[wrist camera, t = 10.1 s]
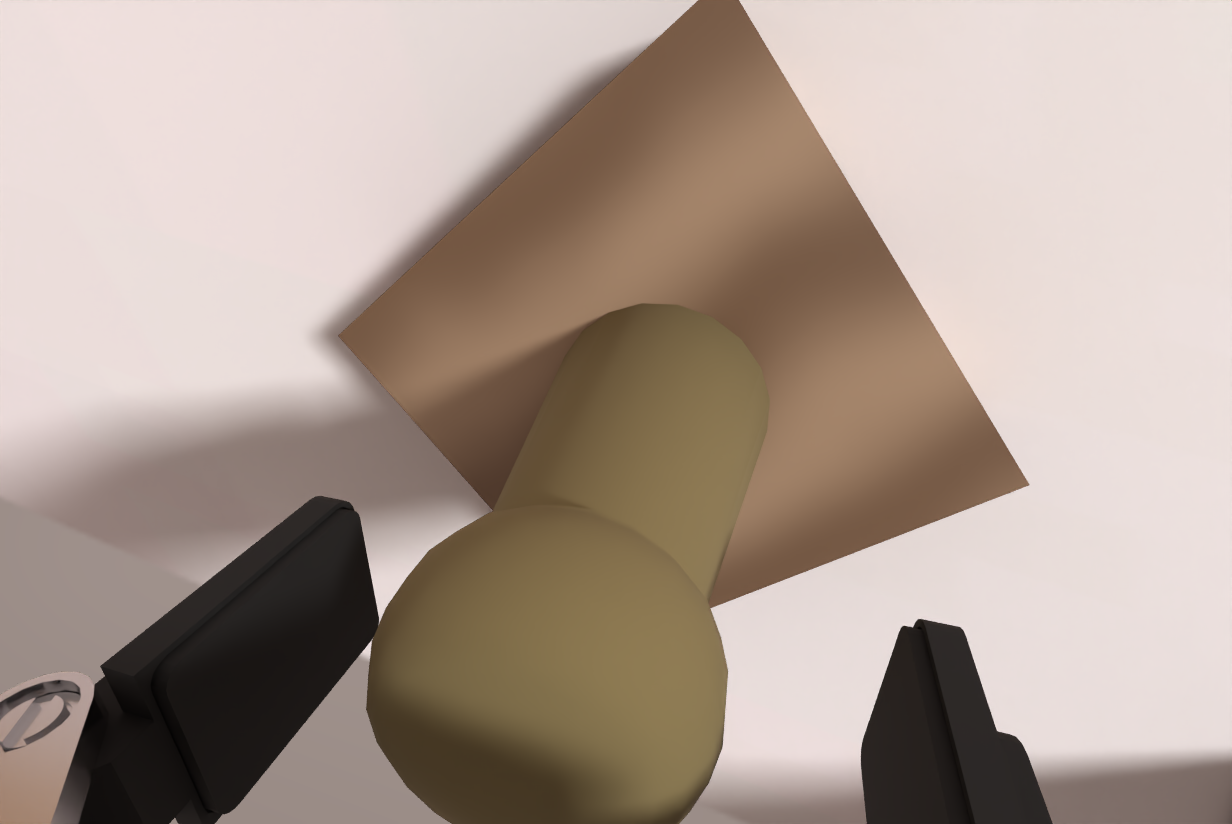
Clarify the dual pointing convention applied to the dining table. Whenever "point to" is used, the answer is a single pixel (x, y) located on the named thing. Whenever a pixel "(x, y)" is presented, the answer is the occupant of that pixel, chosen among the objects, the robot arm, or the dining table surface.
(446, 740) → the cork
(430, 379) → the walnut plinth
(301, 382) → the dining table surface
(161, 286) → the dining table surface
